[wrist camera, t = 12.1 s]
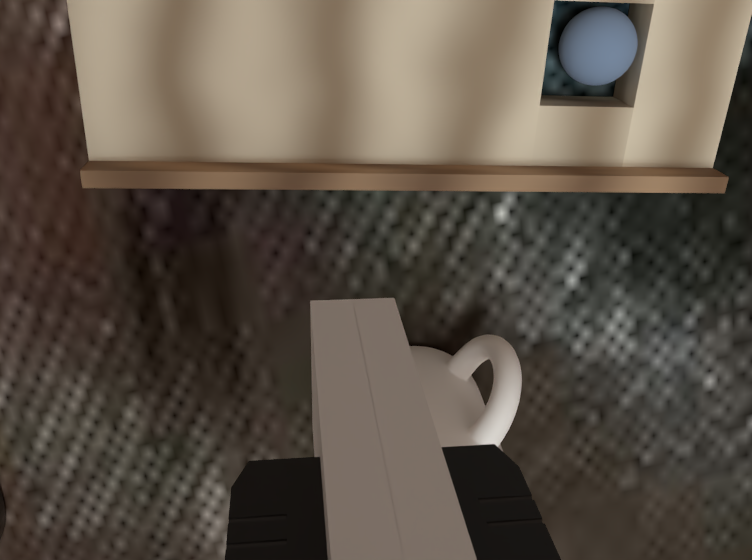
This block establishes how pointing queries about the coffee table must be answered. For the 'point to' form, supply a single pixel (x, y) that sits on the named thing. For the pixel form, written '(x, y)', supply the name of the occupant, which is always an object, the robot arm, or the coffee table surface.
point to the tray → (395, 96)
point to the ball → (598, 45)
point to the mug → (470, 391)
